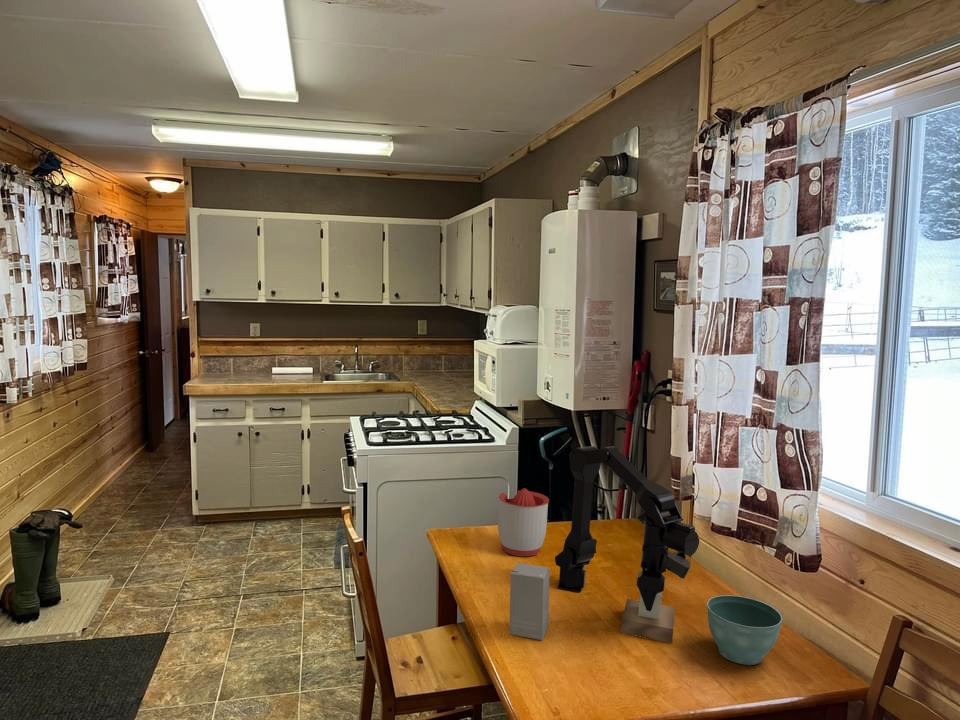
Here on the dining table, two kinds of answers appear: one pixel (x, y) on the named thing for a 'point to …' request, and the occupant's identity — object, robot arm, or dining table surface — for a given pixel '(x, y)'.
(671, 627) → the walnut block
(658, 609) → the sage block
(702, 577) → the dining table surface
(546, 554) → the dining table surface
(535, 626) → the skincare box
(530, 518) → the citrus juicer
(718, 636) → the flower pot
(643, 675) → the dining table surface
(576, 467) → the robot arm
